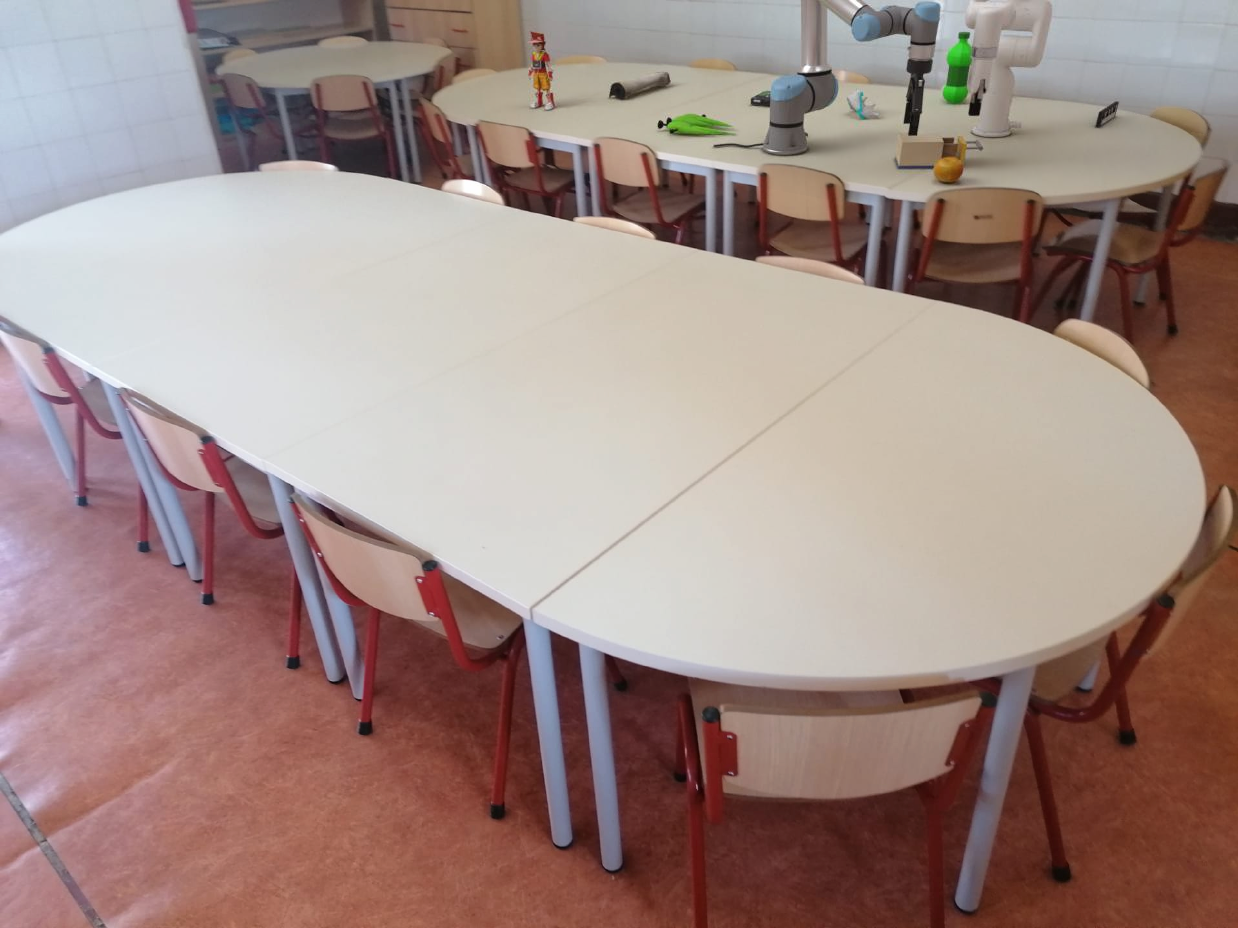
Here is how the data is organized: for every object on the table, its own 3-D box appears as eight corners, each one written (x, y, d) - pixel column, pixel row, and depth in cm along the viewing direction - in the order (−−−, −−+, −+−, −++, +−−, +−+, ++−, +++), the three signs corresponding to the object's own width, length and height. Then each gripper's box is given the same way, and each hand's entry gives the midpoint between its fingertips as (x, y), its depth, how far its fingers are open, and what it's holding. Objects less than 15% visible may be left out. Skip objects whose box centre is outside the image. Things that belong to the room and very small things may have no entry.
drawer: (975, 156, 294) (979, 135, 290) (981, 164, 286) (984, 143, 282) (922, 156, 296) (924, 136, 293) (925, 165, 289) (928, 144, 285)
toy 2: (646, 133, 336) (718, 146, 323) (647, 118, 333) (719, 132, 320) (682, 121, 356) (750, 133, 343) (683, 107, 353) (752, 119, 341)
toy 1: (525, 109, 381) (517, 32, 364) (534, 104, 388) (527, 28, 371) (550, 110, 377) (543, 32, 360) (559, 105, 384) (553, 28, 367)
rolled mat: (651, 76, 408) (662, 61, 399) (662, 93, 408) (674, 79, 400) (605, 92, 391) (616, 77, 383) (617, 110, 391) (628, 95, 383)
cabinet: (935, 158, 297) (939, 132, 292) (939, 168, 288) (943, 141, 283) (895, 159, 299) (898, 133, 294) (898, 168, 290) (902, 142, 285)
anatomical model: (842, 88, 347) (867, 81, 346) (844, 115, 353) (869, 108, 352) (853, 97, 335) (879, 90, 334) (855, 125, 341) (881, 118, 340)
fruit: (927, 172, 273) (945, 149, 270) (928, 175, 281) (945, 152, 278) (950, 188, 272) (968, 164, 269) (951, 190, 280) (968, 167, 277)
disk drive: (773, 107, 363) (788, 98, 373) (773, 100, 361) (788, 91, 371) (750, 105, 368) (765, 96, 378) (750, 98, 366) (765, 89, 376)
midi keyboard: (1099, 127, 316) (1102, 112, 313) (1095, 126, 316) (1098, 112, 314) (1115, 116, 326) (1119, 101, 323) (1111, 115, 327) (1115, 101, 324)
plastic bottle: (973, 101, 354) (984, 32, 339) (955, 106, 349) (966, 36, 335) (952, 97, 361) (962, 29, 346) (934, 102, 356) (944, 33, 342)
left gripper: (903, 50, 286) (894, 118, 298) (912, 67, 266) (902, 140, 278) (927, 49, 285) (917, 119, 297) (938, 67, 265) (927, 140, 277)
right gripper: (967, 48, 279) (957, 109, 289) (975, 58, 267) (965, 121, 277) (992, 47, 278) (981, 109, 288) (1002, 57, 265) (990, 121, 276)
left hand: (910, 129), depth 288 cm, fingers open, 13 cm apart
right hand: (973, 115), depth 282 cm, fingers closed
